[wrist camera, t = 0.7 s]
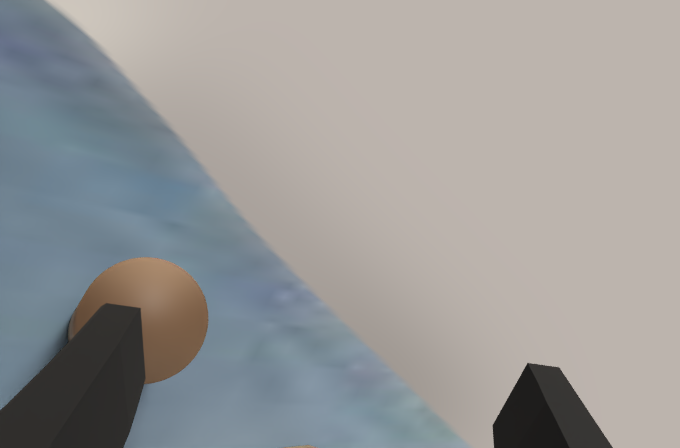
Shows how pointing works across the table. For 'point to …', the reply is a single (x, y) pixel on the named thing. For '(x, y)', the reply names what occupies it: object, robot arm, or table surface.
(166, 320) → the dowel
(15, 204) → the table surface
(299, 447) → the socket block
